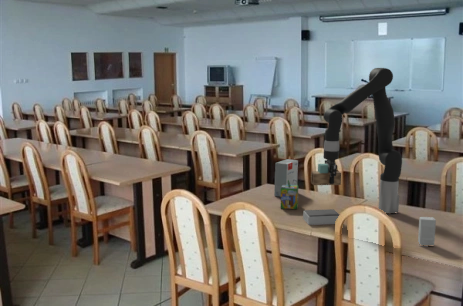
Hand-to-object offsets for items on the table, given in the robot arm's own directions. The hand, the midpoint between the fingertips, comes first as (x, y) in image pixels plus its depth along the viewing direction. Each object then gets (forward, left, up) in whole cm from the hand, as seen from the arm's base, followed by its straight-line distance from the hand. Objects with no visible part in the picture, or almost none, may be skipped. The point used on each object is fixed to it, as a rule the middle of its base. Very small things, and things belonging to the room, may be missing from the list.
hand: (329, 182), depth 255 cm
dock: (+6, +8, -18) cm, 20 cm away
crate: (+4, 0, +5) cm, 7 cm away
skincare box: (-29, +45, -18) cm, 56 cm away
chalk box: (+16, -18, -18) cm, 30 cm away
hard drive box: (+12, -44, -18) cm, 49 cm away
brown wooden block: (+2, 0, -1) cm, 2 cm away
